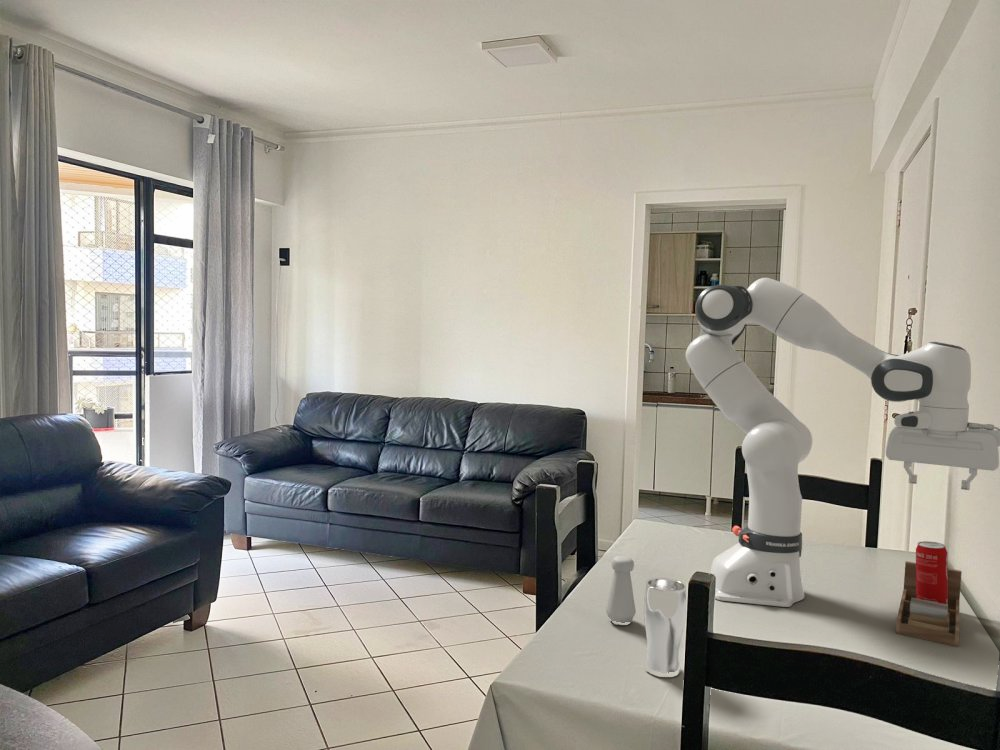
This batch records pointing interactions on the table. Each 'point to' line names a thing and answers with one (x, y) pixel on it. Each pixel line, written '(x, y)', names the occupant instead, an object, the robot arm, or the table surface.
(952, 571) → the rack
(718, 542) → the table surface
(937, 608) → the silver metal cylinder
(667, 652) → the beer glass
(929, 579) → the beverage can
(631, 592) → the salt shaker
